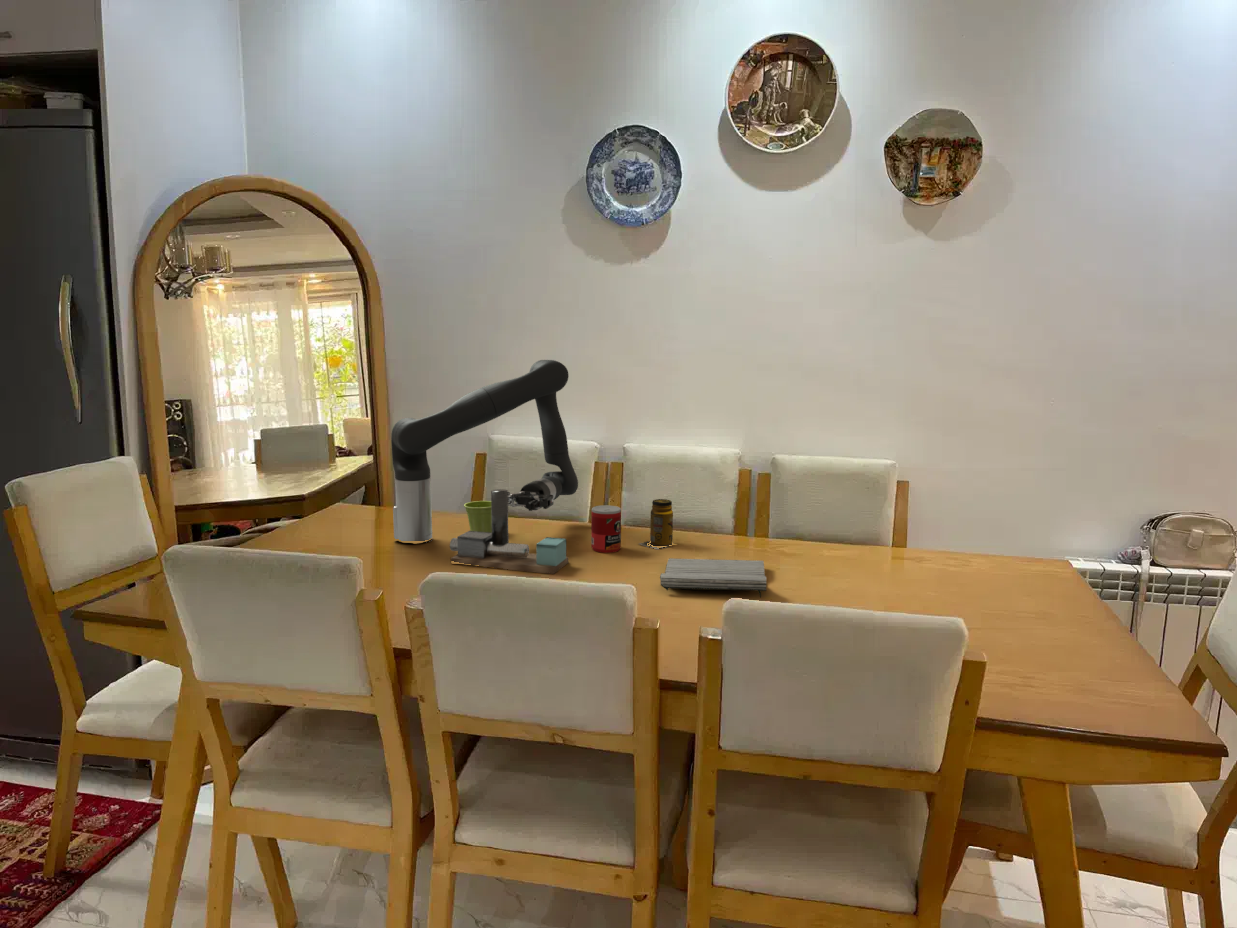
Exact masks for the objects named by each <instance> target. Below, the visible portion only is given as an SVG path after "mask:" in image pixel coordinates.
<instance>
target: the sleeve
mask: <svg viewBox="0 0 1237 928" xmlns="http://www.w3.org/2000/svg"><path fill="white" fill-rule="evenodd" d="M456 538H457V542H458V551H457V554H458V557H469V558H479V559H484V558H485V541H492V533H490V532H478V531H470V530H467V531H466V532H464V533H462V534H460V535H457V537H456Z"/></svg>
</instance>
